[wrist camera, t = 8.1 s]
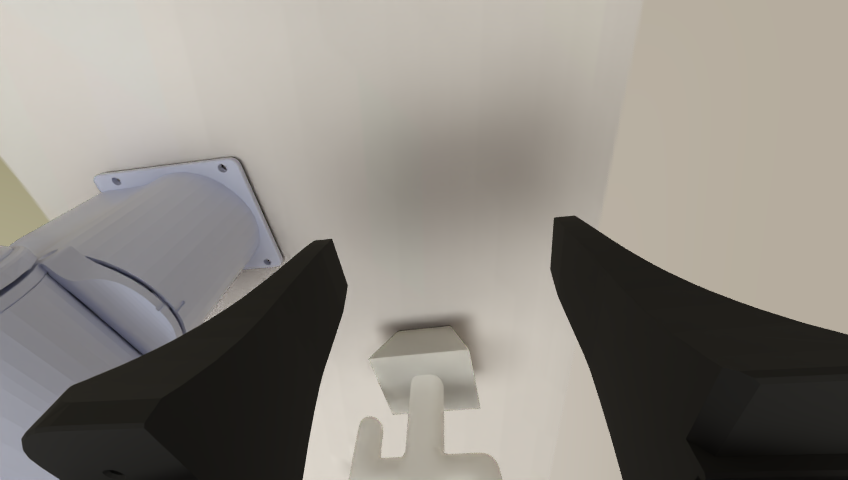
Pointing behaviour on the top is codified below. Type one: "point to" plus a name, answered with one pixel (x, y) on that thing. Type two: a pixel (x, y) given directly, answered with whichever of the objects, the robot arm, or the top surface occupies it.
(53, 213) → the top surface
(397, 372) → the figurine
